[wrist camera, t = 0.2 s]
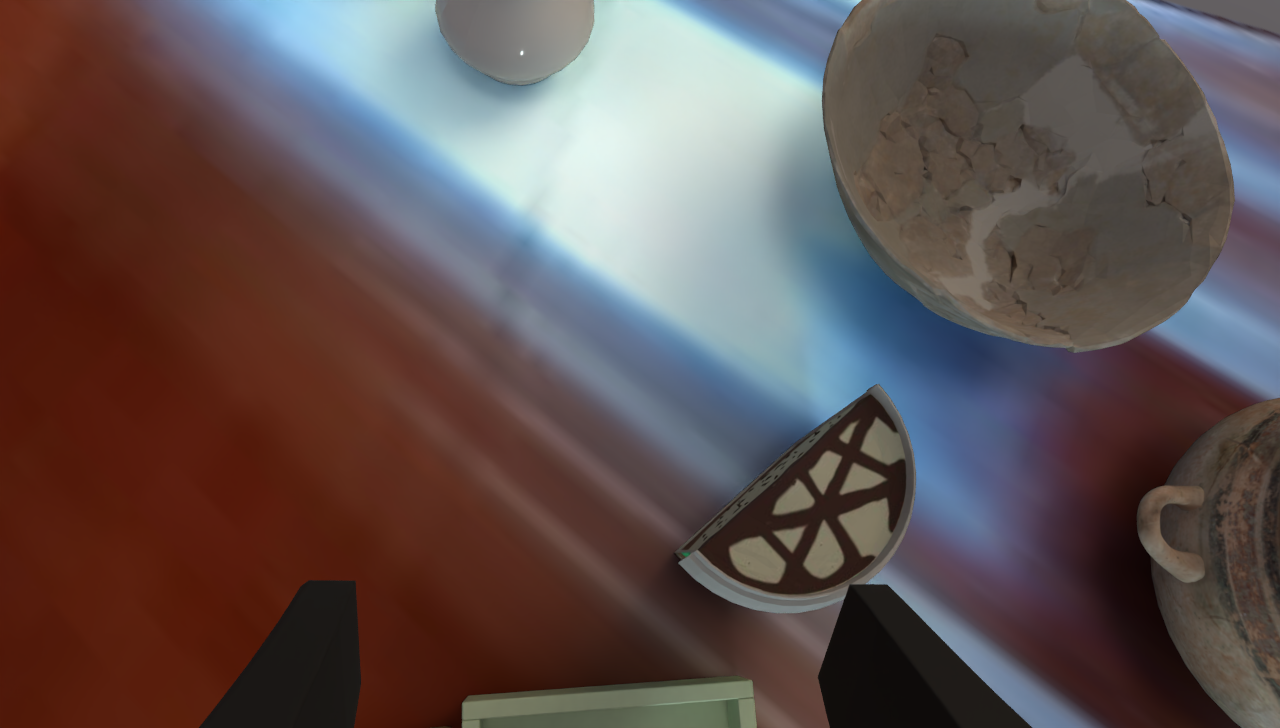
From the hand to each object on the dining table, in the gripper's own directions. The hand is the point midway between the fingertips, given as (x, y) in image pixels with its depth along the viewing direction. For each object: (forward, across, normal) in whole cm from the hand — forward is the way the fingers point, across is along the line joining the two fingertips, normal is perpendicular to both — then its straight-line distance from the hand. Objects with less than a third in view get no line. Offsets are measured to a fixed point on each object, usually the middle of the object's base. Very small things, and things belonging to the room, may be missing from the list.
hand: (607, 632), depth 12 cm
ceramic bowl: (+38, -25, +5) cm, 46 cm away
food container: (+24, -13, +19) cm, 33 cm away
